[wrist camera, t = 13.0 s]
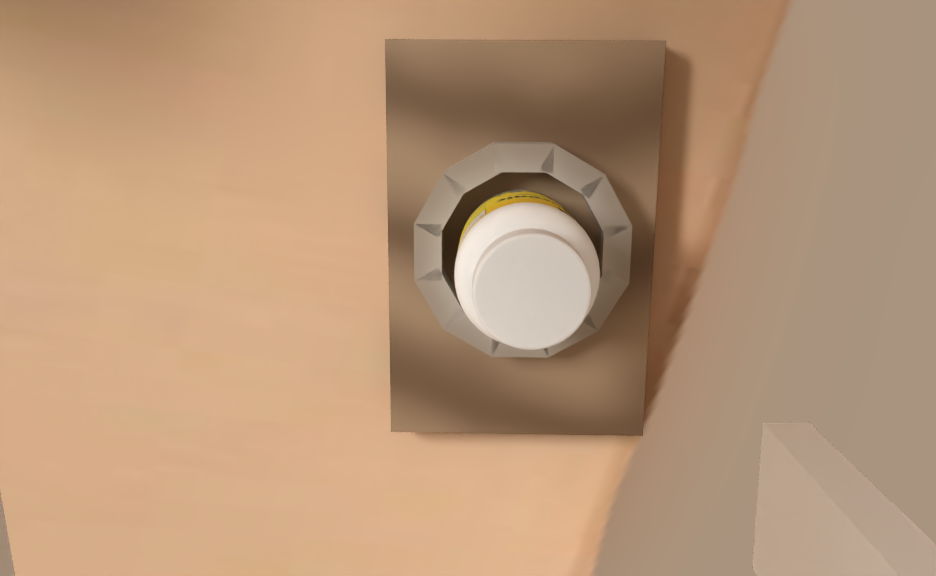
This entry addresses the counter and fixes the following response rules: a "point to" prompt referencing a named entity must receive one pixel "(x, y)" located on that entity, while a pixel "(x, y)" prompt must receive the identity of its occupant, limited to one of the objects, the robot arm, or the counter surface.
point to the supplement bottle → (525, 270)
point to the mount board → (534, 169)
